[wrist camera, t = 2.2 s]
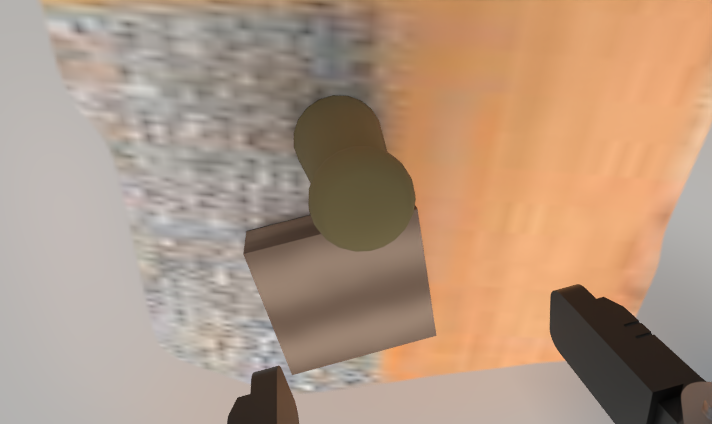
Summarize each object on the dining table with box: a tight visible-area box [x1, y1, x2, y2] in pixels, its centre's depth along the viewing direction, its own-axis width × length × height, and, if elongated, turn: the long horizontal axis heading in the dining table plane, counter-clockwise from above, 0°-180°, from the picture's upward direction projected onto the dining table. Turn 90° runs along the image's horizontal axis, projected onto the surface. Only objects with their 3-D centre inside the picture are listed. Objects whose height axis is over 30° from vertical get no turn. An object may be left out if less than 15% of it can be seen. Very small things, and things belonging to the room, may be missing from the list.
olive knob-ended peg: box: [294, 95, 415, 252], centre depth 24 cm, size 6×6×11 cm
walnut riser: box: [244, 206, 436, 375], centre depth 33 cm, size 12×12×3 cm
